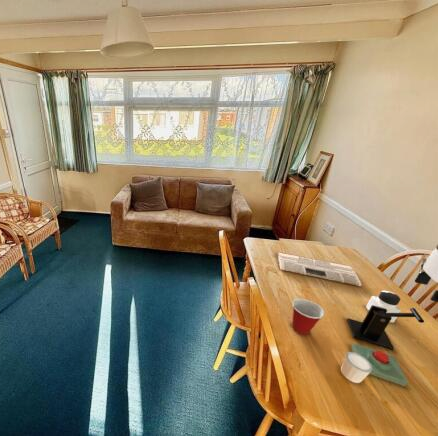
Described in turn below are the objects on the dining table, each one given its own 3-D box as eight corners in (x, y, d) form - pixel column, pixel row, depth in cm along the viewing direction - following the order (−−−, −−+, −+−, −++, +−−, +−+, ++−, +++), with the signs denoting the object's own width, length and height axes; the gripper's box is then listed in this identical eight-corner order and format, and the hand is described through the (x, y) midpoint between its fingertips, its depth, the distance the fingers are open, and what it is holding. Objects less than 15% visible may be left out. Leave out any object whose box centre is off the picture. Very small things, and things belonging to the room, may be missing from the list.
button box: (391, 360, 84) (396, 352, 82) (404, 386, 75) (410, 379, 74) (350, 346, 88) (354, 339, 87) (359, 370, 80) (363, 363, 78)
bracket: (382, 330, 95) (396, 307, 90) (392, 350, 87) (409, 327, 81) (346, 319, 100) (357, 297, 94) (353, 338, 92) (366, 315, 86)
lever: (415, 311, 86) (415, 306, 85) (424, 323, 81) (423, 318, 80) (372, 311, 92) (371, 306, 92) (378, 322, 87) (377, 317, 87)
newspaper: (280, 270, 131) (281, 266, 130) (277, 253, 147) (278, 249, 146) (360, 287, 118) (362, 283, 117) (346, 266, 134) (348, 262, 133)
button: (384, 356, 81) (386, 353, 80) (388, 365, 78) (391, 362, 77) (371, 352, 82) (373, 348, 82) (375, 360, 80) (377, 357, 79)
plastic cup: (300, 315, 102) (308, 295, 97) (321, 336, 92) (331, 315, 87) (279, 320, 100) (286, 299, 95) (299, 342, 90) (308, 320, 85)
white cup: (367, 388, 75) (376, 375, 72) (342, 380, 77) (350, 367, 74) (358, 368, 81) (366, 355, 78) (335, 361, 83) (342, 349, 80)
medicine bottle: (394, 323, 98) (407, 302, 93) (373, 318, 100) (385, 298, 95) (384, 310, 104) (396, 290, 99) (365, 307, 106) (376, 287, 101)
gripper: (496, 268, 63) (461, 313, 70) (453, 239, 77) (428, 279, 84) (457, 261, 66) (427, 305, 73) (423, 235, 80) (401, 274, 87)
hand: (428, 291), depth 79 cm, fingers open, 9 cm apart
